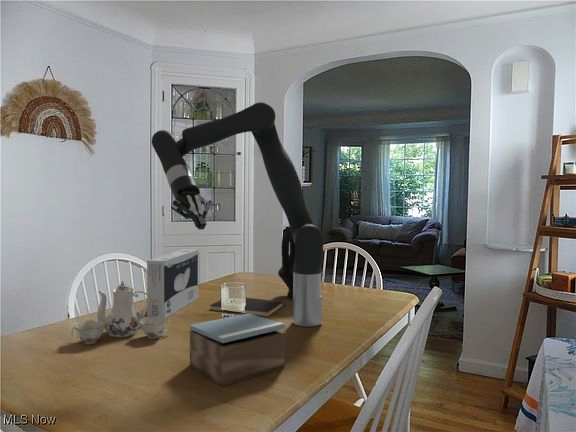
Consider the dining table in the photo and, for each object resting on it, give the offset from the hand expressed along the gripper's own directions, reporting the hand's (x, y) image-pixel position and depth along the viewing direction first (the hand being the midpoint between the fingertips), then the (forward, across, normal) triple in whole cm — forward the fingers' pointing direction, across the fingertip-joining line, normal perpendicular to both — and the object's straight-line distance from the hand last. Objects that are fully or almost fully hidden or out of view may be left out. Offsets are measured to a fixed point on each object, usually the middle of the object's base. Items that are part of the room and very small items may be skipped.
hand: (202, 227), depth 127 cm
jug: (+4, +60, +44) cm, 75 cm away
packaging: (-6, +12, +55) cm, 56 cm away
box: (+37, 0, +11) cm, 38 cm away
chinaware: (+8, -14, +40) cm, 44 cm away
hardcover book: (+5, +34, +44) cm, 55 cm away
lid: (+30, 0, +4) cm, 30 cm away
